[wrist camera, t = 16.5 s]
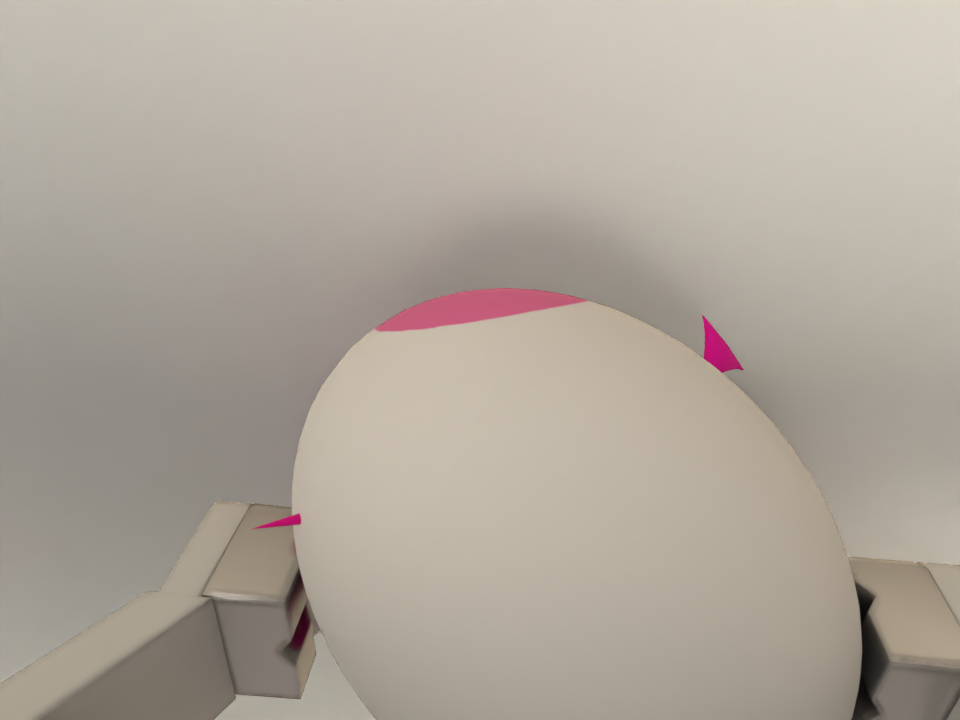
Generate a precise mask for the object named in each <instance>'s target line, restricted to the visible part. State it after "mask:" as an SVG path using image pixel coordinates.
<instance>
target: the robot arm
mask: <svg viewBox="0 0 960 720" xmlns="http://www.w3.org/2000/svg"><path fill="white" fill-rule="evenodd" d="M289 516H292V508H291V507H282V506H273V505H264V504H248V503H239V502H231V501H222V500H219V501H218V502H216V503H215V504H214V505H212V506H211V507H210V508H209V510H208V511H207V513H206V514H205V516H204V518H203V519H202V521H201V523H200V524H199V526H198V528H197V529H196V531H195V532H194V534H193V536H192V537H191V539H190V541H189V542H188V544H187V546H186V547H185V549H184V550H183V552H182V554H181V555H180V557H179V559H178V560H177V562H176V564H175V565H174V567H173V568H172V570H171V572H170V573H169V575H168V577H167V578H166V580H165V582H164V583H163V585H162V586H161V588H160V590H159V591H158V592H148V591H147V592H145V593H144V594H142V595H140V596H139V597H137V598H136V599H134V600H132V601H131V602H129V603H128V604H126V605H124V606H123V607H121V608H120V609H118V610H117V611H115V612H113V613H112V614H110V615H109V616H107V617H105V618H104V619H102V620H101V621H99V622H97V623H96V624H94V625H93V626H91V627H90V628H88V629H86V630H85V631H83V632H82V633H80V634H78V635H77V636H75V637H74V638H72V639H70V640H69V641H67V642H66V643H64V644H62V645H61V646H59V647H58V648H56V649H55V650H53V651H51V652H50V653H48V654H47V655H45V656H43V657H42V658H40V659H39V660H37V661H35V662H34V663H32V664H31V665H29V666H27V667H26V668H24V669H23V670H21V671H20V672H18V673H16V674H15V675H13V676H12V677H10V678H8V679H7V680H5V681H4V682H2V683H0V720H214V719H215V718H216V717H217V716H218V715H219V714H220V713H221V712H222V711H223V710H224V709H225V708H226V707H228V706H229V705H230V704H231V703H232V702H233V701H234V700H235V699H236V696H235V694H238V695H251V696H264V697H277V698H290V699H301V697H302V694H303V691H304V688H305V685H306V682H307V679H308V676H309V674H310V671H311V668H312V665H313V662H314V659H315V656H316V650H315V642H314V635H315V634H316V633H317V632H319V631H320V628H319V625H318V623H317V621H316V619H315V616H314V614H313V611H312V608H311V605H310V603H309V600H308V597H307V594H306V591H305V587H304V583H303V580H302V576H301V572H300V568H299V563H298V559H297V554H296V547H295V540H294V532H293V525H290V526H280V527H270V528H259V529H253V528H256V527H259V526H262V525H265V524H268V523H271V522H274V521H277V520H280V519H283V518H286V517H289ZM848 559H849V562H850V566H851V570H852V574H853V578H854V582H855V587H856V592H857V597H858V602H859V607H860V621H861V637H862V661H861V674H860V683H859V689H858V694H857V699H856V703H855V708H854V712H853V716H852V719H851V720H960V565H951V564H937V563H924V562H917V563H914V562H909V561H896V560H884V559H871V558H858V557H848Z"/></svg>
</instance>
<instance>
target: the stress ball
mask: <svg viewBox="0 0 960 720" xmlns="http://www.w3.org/2000/svg"><path fill="white" fill-rule="evenodd" d="M702 316H703V315H702ZM703 321H704V331H705V350H704V359H703V358H702V357H701V356H699V355H698V354H697V353H695V352H694V351H692V350H691V349H689V348H688V347H686V346H685V345H684V344H682V343H680V342H679V341H677V340H675V339H674V338H672V337H670V336H669V335H667V334H665V333H664V332H662V331H660V330H658V329H656V328H654V327H652V326H650V325H648V324H646V323H644V322H642V321H640V320H638V319H636V318H634V317H632V316H629V315H627V314H625V313H622V312H620V311H617V310H615V309H612V308H610V307H607V306H604V305H601V304H598V303H594V302H591V301H588V300H584V299H581V298H577V297H573V296H569V295H564V294H559V293H553V292H547V291H540V290H531V289H513V288H497V289H484V290H472V291H463V292H459V293H455V294H450V295H446V296H442V297H439V298H435V299H432V300H428V301H425V302H423V303H420V304H418V305H416V306H413V307H411V308H408V309H406V310H403V311H402V312H400V313H399V314H397V315H395V316H394V317H392V318H390V319H389V320H387V321H386V322H384V323H383V324H381V325H379V326H378V327H376V328H375V329H373V330H371V331H370V332H368V333H367V334H366V335H365V336H364V337H363V338H362V339H361V340H360V341H358V342H357V343H356V344H355V345H354V346H353V347H352V348H351V349H350V350H349V351H348V352H347V353H346V354H345V356H344V357H343V358H342V359H341V361H340V362H339V363H338V365H337V366H336V367H335V369H334V370H333V371H332V373H331V374H330V375H329V377H328V378H327V379H326V380H325V382H324V383H323V385H322V387H321V389H320V390H319V392H318V394H317V396H316V398H315V400H314V402H313V404H312V406H311V408H310V410H309V413H308V416H307V419H306V422H305V425H304V428H303V431H302V434H301V437H300V441H299V446H298V450H297V455H296V460H295V465H294V473H293V483H292V516H289V517H286V518H283V519H280V520H277V521H274V522H271V523H268V524H265V525H262V526H259V527H256V528H253V529H259V528H270V527H280V526H290V525H293V532H294V540H295V547H296V554H297V559H298V563H299V568H300V572H301V576H302V580H303V583H304V587H305V591H306V594H307V597H308V600H309V603H310V605H311V608H312V611H313V614H314V616H315V619H316V621H317V623H318V625H319V628H320V630H321V632H322V634H323V636H324V638H325V640H326V643H327V645H328V647H329V649H330V651H331V653H332V655H333V656H334V658H335V660H336V662H337V664H338V665H339V667H340V669H341V671H342V672H343V674H344V676H345V678H346V679H347V681H348V682H349V684H350V685H351V686H352V688H353V689H354V691H355V692H356V694H357V695H358V696H359V698H360V699H361V701H362V702H363V703H364V705H365V706H366V708H367V709H368V710H369V711H370V713H371V714H372V715H373V716H374V717H375V719H376V720H851V719H852V716H853V712H854V708H855V703H856V699H857V694H858V689H859V683H860V674H861V661H862V637H861V621H860V607H859V602H858V597H857V592H856V587H855V582H854V578H853V574H852V570H851V566H850V562H849V559H848V556H847V553H846V550H845V547H844V544H843V541H842V539H841V536H840V534H839V531H838V529H837V526H836V524H835V521H834V519H833V516H832V514H831V512H830V510H829V508H828V506H827V504H826V502H825V500H824V498H823V496H822V495H821V493H820V491H819V489H818V487H817V485H816V484H815V482H814V480H813V478H812V476H811V475H810V473H809V472H808V470H807V469H806V467H805V466H804V464H803V463H802V461H801V460H800V458H799V457H798V455H797V454H796V452H795V451H794V450H793V448H792V447H791V445H790V444H789V442H788V441H787V440H786V438H785V437H784V436H783V435H782V434H781V432H780V431H779V430H778V429H777V428H776V426H775V425H774V424H773V423H772V421H771V420H770V419H769V418H768V417H767V416H766V414H765V413H764V412H763V411H762V410H761V409H760V408H759V407H758V406H757V405H756V404H755V403H754V402H753V401H752V400H751V399H750V398H749V397H748V396H747V395H746V394H745V393H744V392H743V391H742V390H741V389H740V388H739V387H738V386H737V385H735V384H734V383H733V382H732V381H731V380H730V379H728V378H727V377H726V376H725V375H724V374H723V373H724V372H726V371H728V370H732V369H740V370H743V368H742V367H741V365H740V364H739V362H738V361H737V359H736V358H735V356H734V354H733V353H732V351H731V350H730V348H729V346H728V345H727V344H726V343H725V341H724V340H723V339H722V338H721V337H720V335H719V334H718V333H717V332H716V330H715V329H714V328H713V327H712V325H711V324H710V323H709V322H708V321H707V319H706V318H705V317H704V316H703Z"/></svg>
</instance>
